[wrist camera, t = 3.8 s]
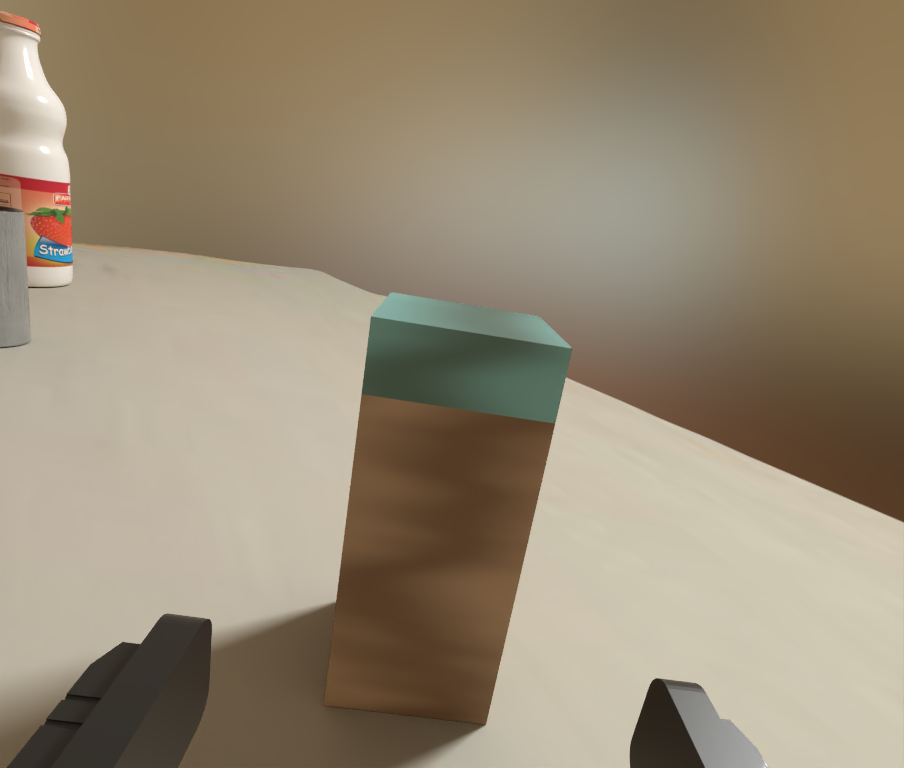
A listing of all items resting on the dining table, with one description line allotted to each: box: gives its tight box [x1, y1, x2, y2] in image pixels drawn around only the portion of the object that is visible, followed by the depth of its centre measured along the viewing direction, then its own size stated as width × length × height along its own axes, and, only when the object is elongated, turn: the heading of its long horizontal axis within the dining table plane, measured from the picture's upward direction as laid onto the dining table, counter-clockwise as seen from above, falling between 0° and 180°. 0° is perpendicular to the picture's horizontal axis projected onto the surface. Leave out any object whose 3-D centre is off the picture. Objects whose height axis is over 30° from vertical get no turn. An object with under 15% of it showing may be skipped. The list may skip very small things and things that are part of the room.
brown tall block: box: [324, 293, 572, 725], centre depth 17 cm, size 5×5×12 cm
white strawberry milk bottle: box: [0, 11, 73, 287], centre depth 61 cm, size 9×9×28 cm
